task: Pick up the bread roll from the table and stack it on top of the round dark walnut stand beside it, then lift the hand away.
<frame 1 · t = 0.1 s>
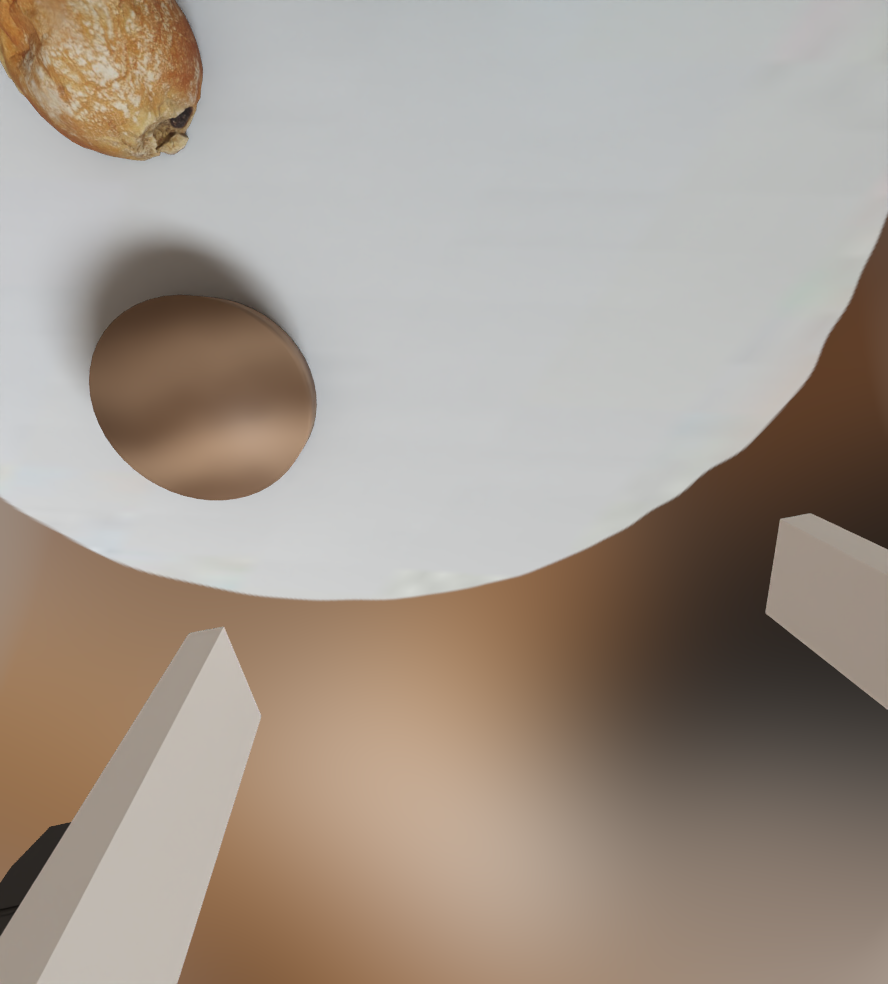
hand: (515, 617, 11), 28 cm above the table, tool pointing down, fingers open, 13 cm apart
walnut stand: (222, 396, 34), on the table
bread roll: (115, 67, 27), on the table
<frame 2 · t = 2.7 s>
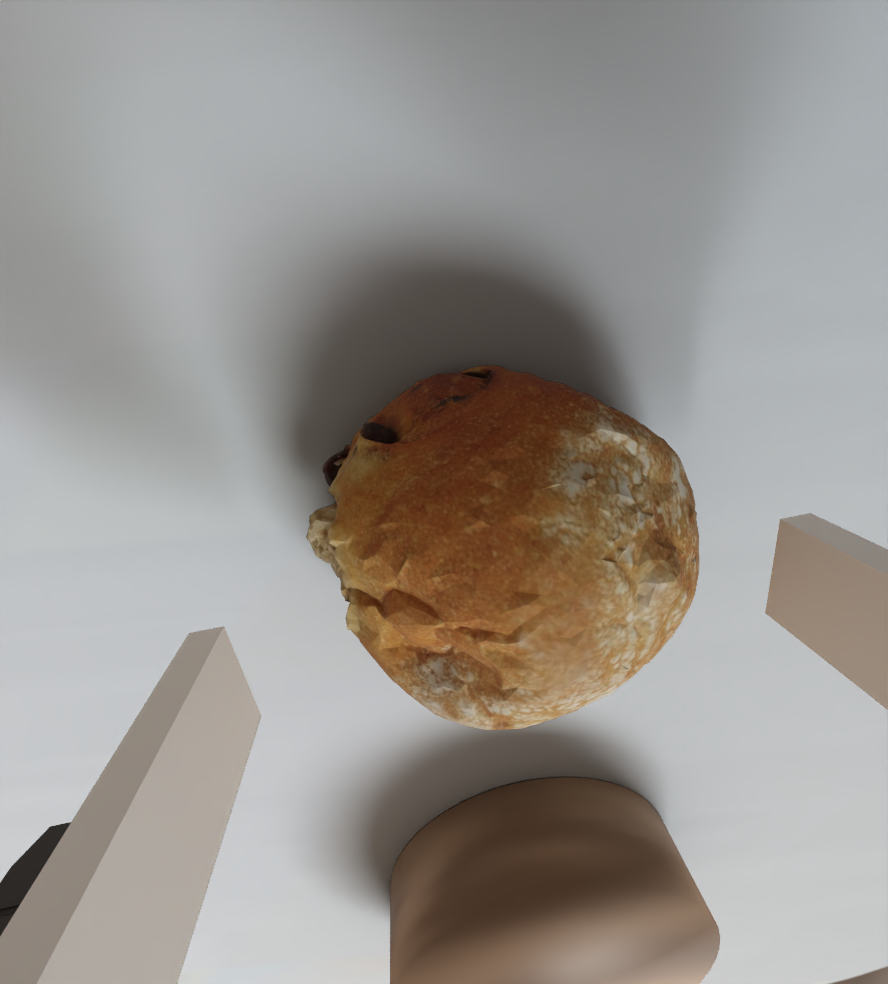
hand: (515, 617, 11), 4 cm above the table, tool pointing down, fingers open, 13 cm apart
walnut stand: (531, 872, 22), on the table
bread roll: (483, 513, 15), on the table
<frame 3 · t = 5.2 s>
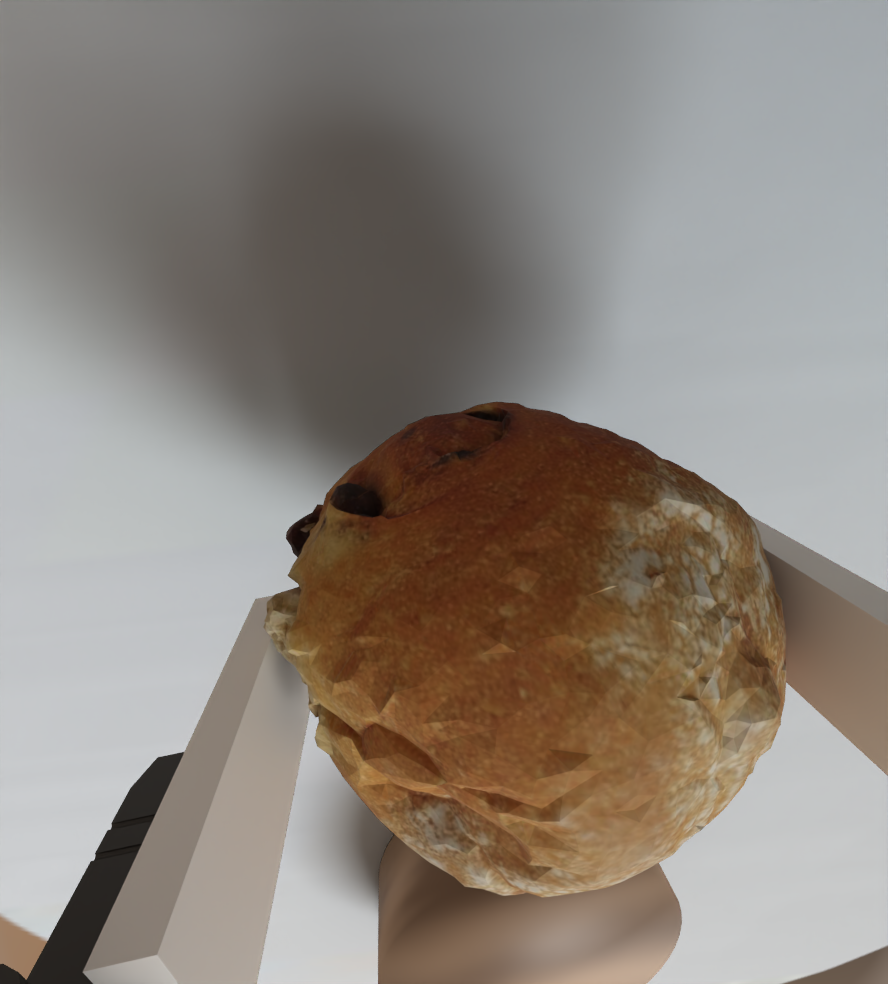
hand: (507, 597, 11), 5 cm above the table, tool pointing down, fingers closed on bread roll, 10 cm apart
walnut stand: (511, 863, 24), on the table
bread roll: (492, 576, 12), point 5 cm above the table, touching gripper
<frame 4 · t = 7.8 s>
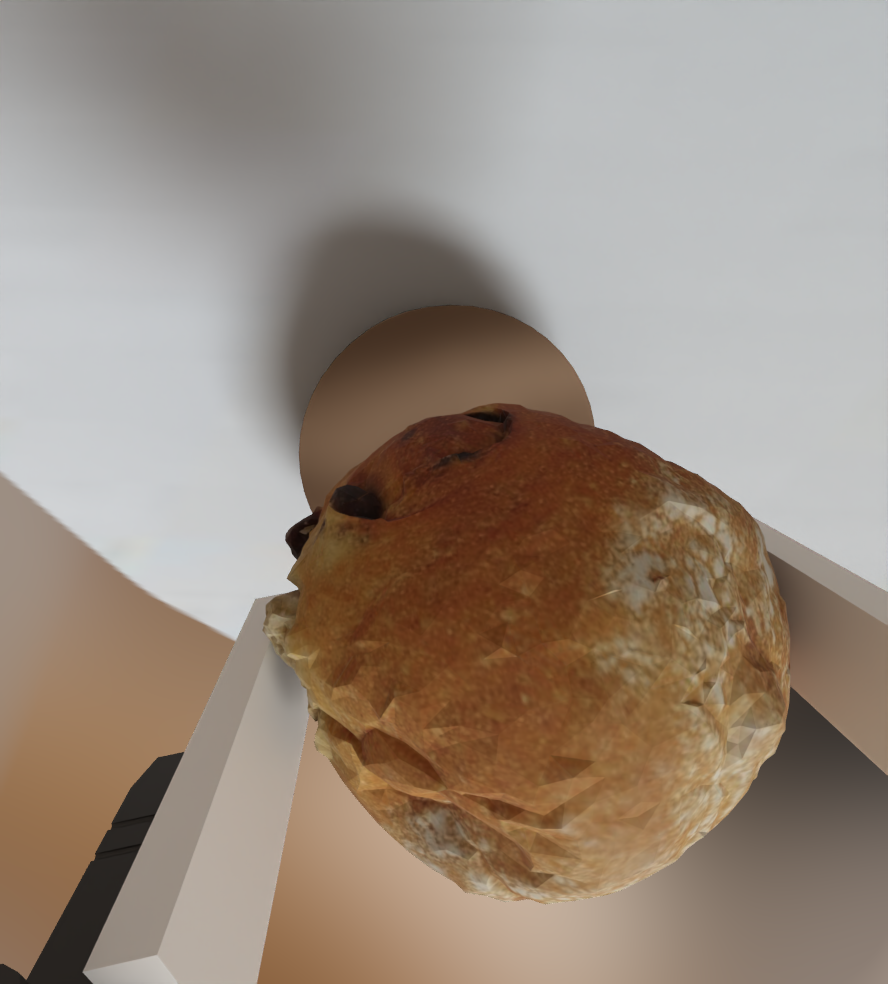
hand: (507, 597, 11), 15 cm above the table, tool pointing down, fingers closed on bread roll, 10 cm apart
walnut stand: (442, 442, 25), on the table
bread roll: (493, 578, 12), point 14 cm above the table, touching gripper
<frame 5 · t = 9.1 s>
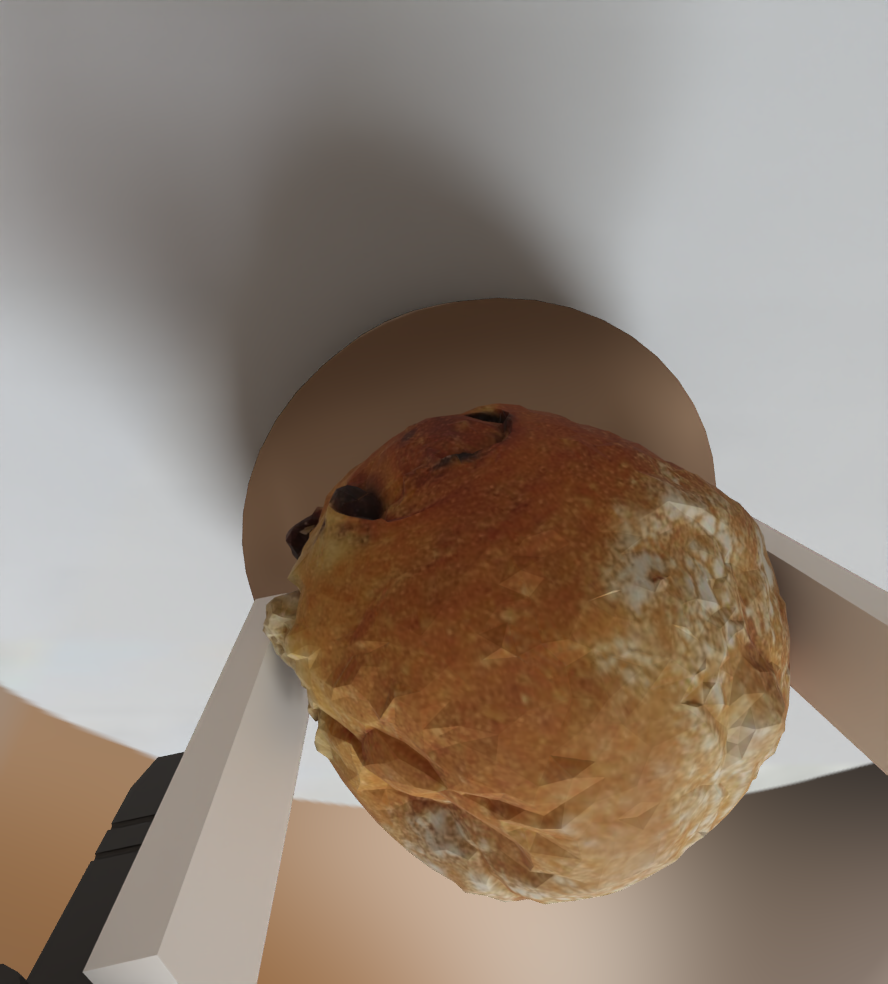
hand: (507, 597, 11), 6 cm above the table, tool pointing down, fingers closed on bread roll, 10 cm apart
walnut stand: (468, 502, 17), on the table
bread roll: (493, 578, 12), point 5 cm above the table, touching gripper
when the fingers open (5 cm above the table, at t = 10.4 s): bread roll stays where it is, resting on walnut stand.
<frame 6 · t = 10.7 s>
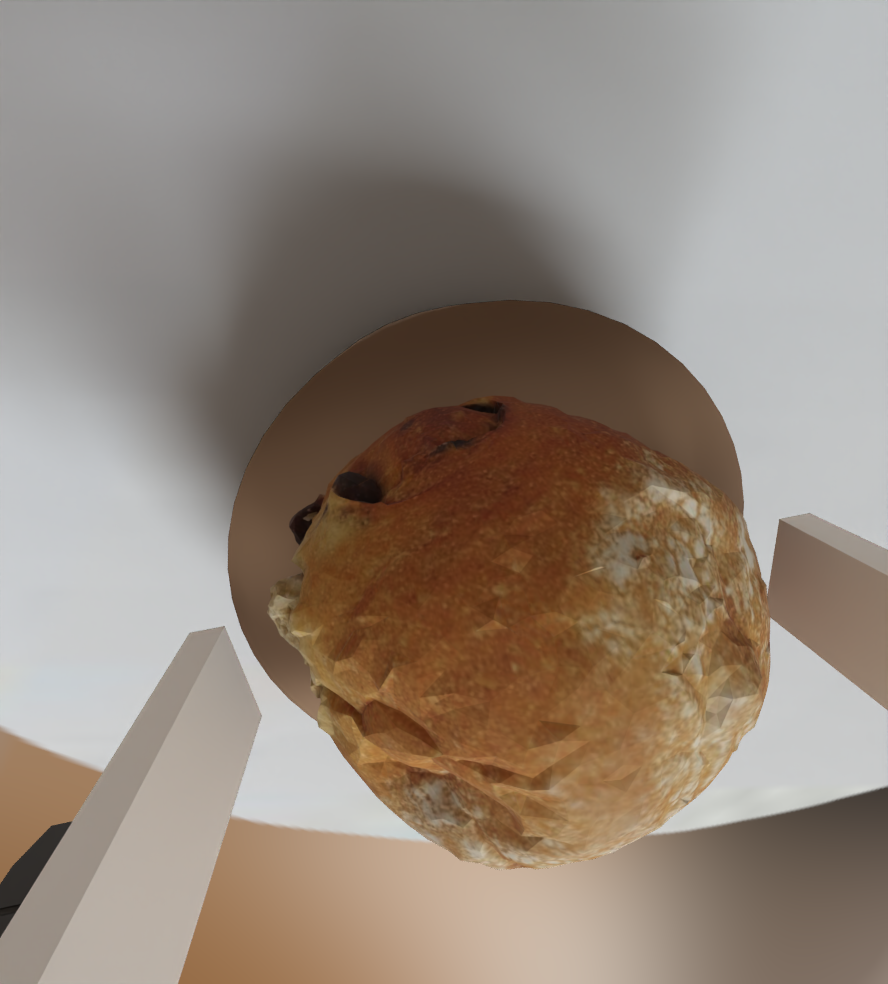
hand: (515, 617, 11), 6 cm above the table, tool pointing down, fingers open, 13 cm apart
walnut stand: (473, 517, 16), on the table
bread roll: (489, 567, 12), point 4 cm above the table, touching walnut stand
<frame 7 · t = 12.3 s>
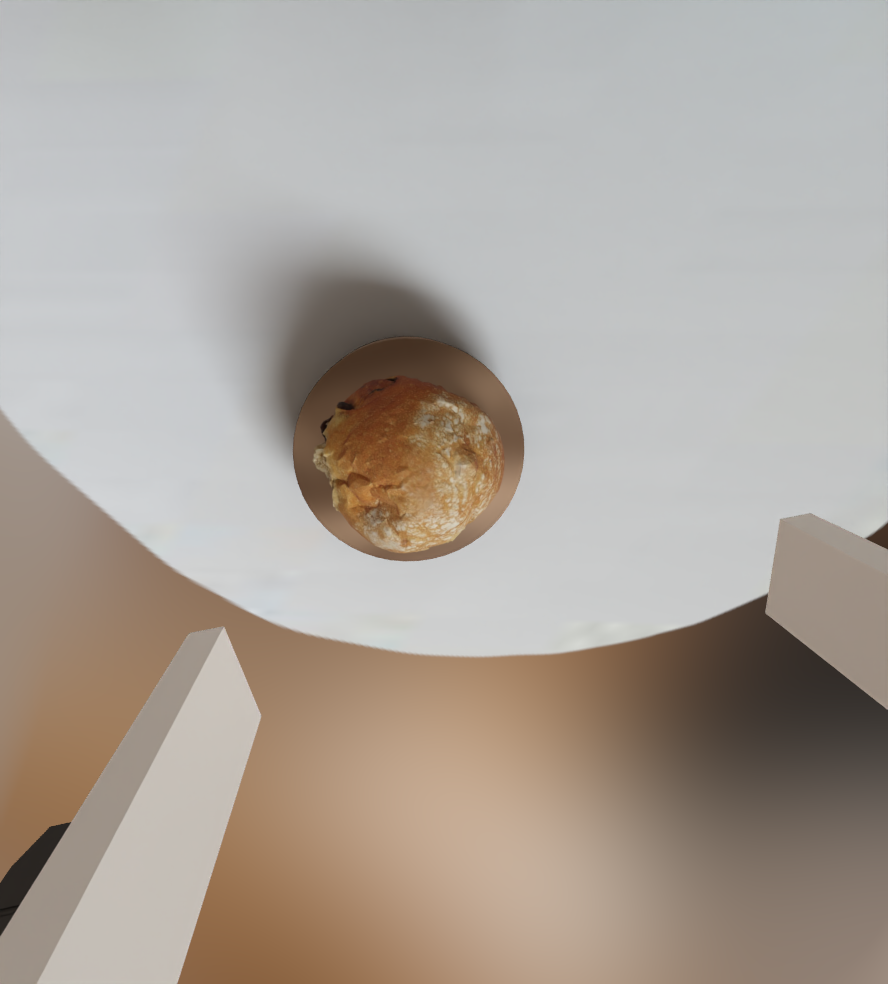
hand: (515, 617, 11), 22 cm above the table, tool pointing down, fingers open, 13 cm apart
walnut stand: (409, 443, 31), on the table
bread roll: (407, 454, 27), point 4 cm above the table, touching walnut stand
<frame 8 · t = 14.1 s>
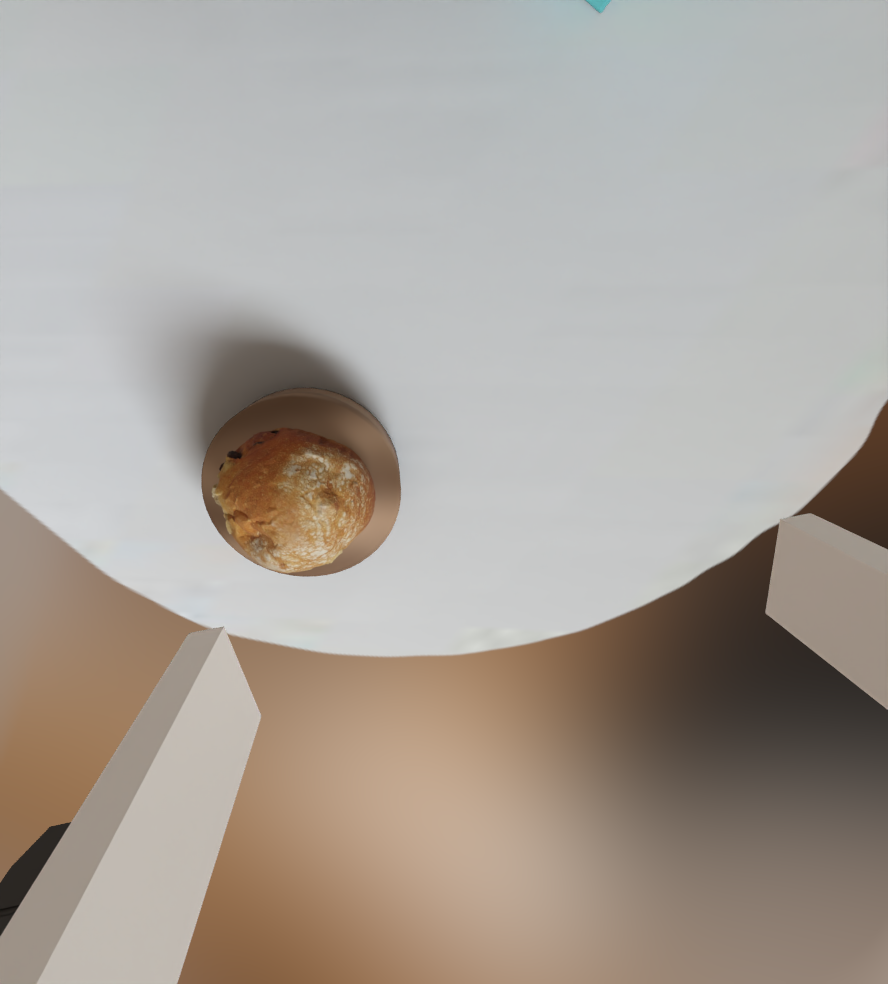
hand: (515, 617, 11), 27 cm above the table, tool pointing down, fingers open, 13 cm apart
walnut stand: (312, 475, 36), on the table
bread roll: (300, 489, 33), point 4 cm above the table, touching walnut stand
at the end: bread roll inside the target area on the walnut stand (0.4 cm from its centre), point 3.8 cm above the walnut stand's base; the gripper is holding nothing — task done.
